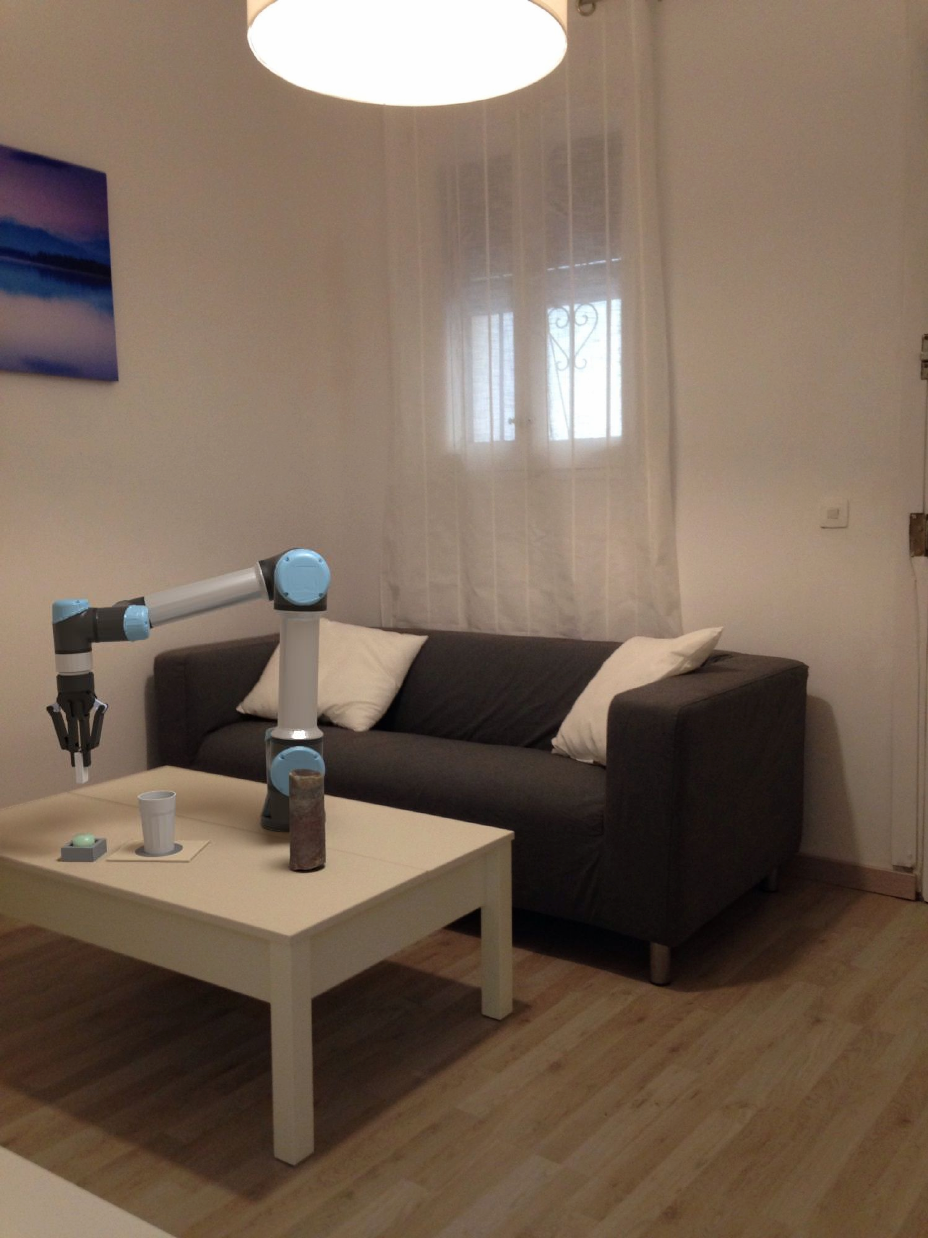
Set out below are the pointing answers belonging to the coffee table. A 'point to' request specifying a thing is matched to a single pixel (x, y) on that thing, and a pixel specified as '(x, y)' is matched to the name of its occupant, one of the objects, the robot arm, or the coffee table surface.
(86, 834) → the button
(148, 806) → the cup
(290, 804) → the brown tall cylinder
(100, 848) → the button housing
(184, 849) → the sheet
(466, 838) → the coffee table surface
